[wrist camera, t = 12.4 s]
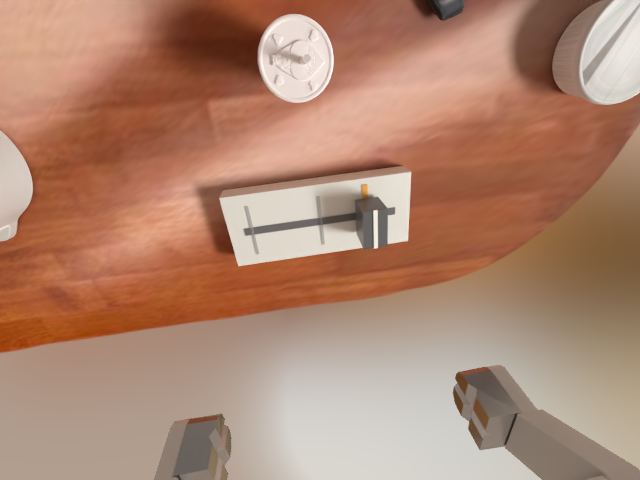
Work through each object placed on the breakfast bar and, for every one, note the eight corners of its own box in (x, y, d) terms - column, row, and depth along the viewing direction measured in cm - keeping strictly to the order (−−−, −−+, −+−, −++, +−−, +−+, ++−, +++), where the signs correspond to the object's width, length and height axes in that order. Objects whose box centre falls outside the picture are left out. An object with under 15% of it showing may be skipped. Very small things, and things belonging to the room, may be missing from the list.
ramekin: (552, 1, 33) (596, -12, 28) (649, -17, 33) (708, -32, 29) (533, 109, 39) (567, 113, 34) (616, 93, 39) (661, 95, 34)
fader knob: (356, 234, 40) (364, 250, 37) (354, 199, 38) (362, 212, 34) (378, 231, 40) (387, 246, 37) (377, 196, 38) (388, 208, 34)
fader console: (240, 254, 44) (238, 266, 41) (223, 190, 39) (218, 198, 36) (400, 231, 45) (408, 241, 42) (402, 165, 40) (411, 172, 37)
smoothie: (320, 97, 35) (341, 108, 23) (264, 96, 34) (256, 107, 22) (321, 31, 32) (346, 2, 20) (260, 28, 31) (247, -3, 19)
